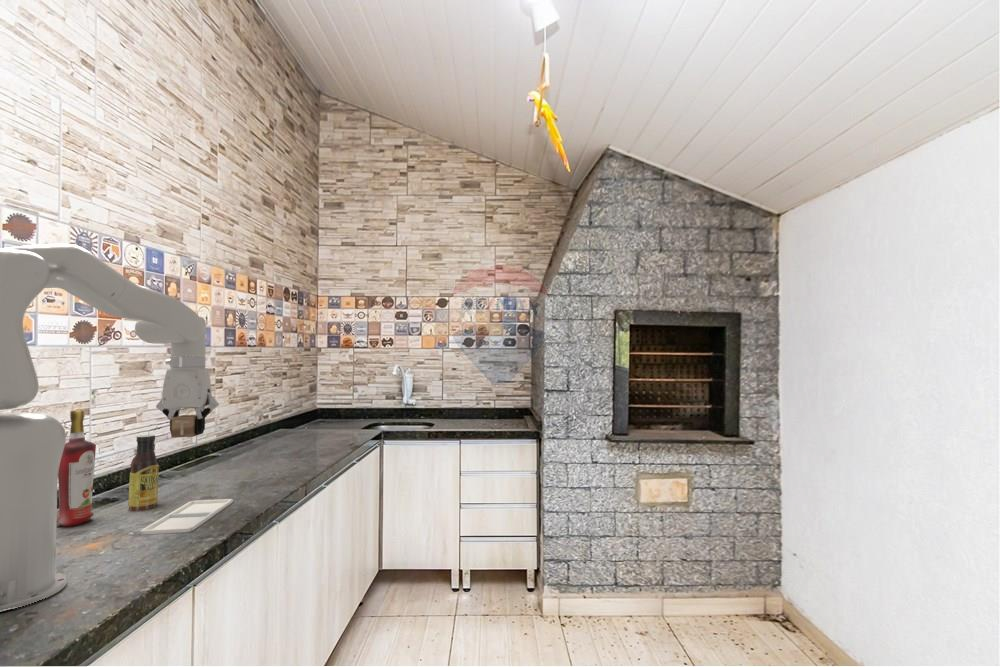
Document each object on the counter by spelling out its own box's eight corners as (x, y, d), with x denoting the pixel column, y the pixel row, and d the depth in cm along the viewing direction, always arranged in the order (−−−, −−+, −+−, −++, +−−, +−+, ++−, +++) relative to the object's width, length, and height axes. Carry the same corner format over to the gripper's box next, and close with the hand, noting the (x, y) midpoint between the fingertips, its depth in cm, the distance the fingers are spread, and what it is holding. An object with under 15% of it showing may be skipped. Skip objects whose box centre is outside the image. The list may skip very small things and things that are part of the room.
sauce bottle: (141, 515, 123) (142, 438, 123) (121, 513, 124) (123, 437, 125) (164, 506, 129) (165, 433, 130) (145, 505, 130) (146, 433, 131)
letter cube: (192, 437, 119) (192, 416, 119) (171, 437, 118) (171, 417, 118) (202, 433, 124) (203, 414, 124) (182, 434, 123) (182, 414, 124)
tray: (190, 535, 108) (190, 528, 108) (138, 538, 107) (139, 531, 107) (233, 504, 130) (233, 498, 130) (191, 506, 129) (191, 500, 129)
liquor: (78, 517, 122) (80, 408, 123) (102, 518, 120) (104, 408, 121) (46, 527, 114) (49, 412, 115) (71, 529, 113) (74, 412, 114)
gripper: (143, 364, 117) (142, 438, 116) (216, 363, 119) (215, 435, 118) (161, 363, 125) (160, 432, 124) (229, 362, 127) (229, 430, 126)
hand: (187, 433), depth 121 cm, fingers closed on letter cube, 4 cm apart
